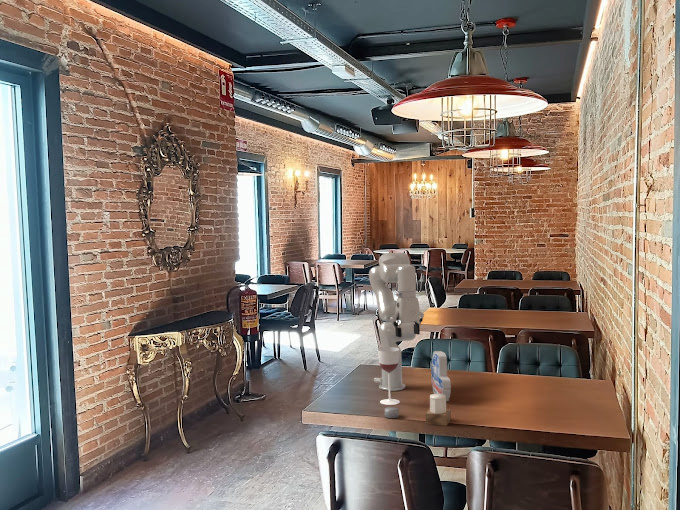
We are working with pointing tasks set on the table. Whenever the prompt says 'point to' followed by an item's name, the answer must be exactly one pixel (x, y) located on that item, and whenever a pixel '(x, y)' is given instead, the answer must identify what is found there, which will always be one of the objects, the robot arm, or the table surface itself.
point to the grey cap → (391, 412)
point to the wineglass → (388, 367)
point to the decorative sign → (440, 374)
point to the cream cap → (437, 403)
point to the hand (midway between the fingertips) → (407, 335)
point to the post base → (438, 418)
